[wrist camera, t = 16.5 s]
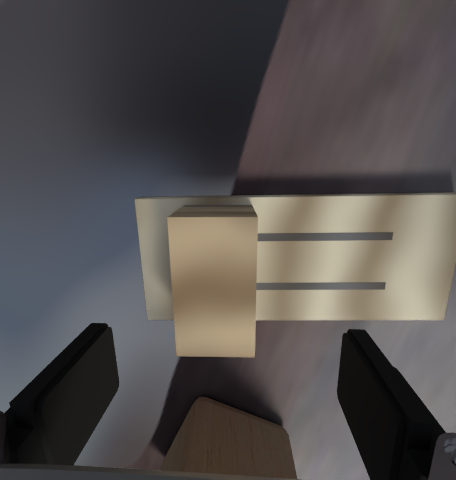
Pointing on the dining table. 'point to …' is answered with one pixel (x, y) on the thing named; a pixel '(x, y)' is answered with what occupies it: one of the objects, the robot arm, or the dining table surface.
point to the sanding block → (214, 279)
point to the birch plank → (326, 254)
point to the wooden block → (229, 444)
